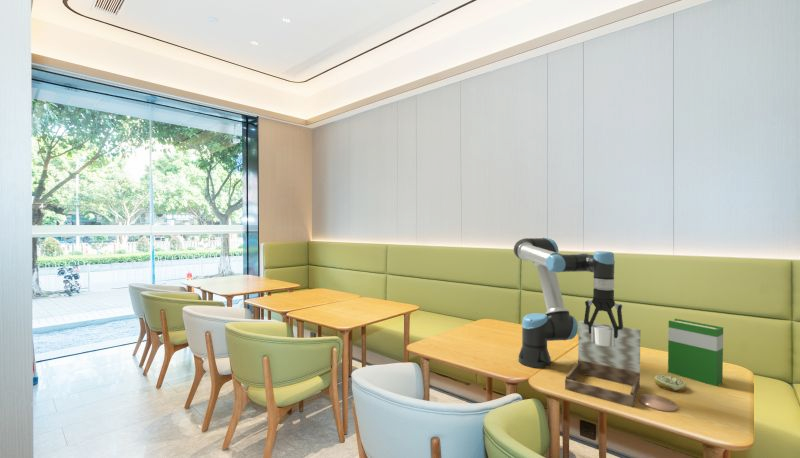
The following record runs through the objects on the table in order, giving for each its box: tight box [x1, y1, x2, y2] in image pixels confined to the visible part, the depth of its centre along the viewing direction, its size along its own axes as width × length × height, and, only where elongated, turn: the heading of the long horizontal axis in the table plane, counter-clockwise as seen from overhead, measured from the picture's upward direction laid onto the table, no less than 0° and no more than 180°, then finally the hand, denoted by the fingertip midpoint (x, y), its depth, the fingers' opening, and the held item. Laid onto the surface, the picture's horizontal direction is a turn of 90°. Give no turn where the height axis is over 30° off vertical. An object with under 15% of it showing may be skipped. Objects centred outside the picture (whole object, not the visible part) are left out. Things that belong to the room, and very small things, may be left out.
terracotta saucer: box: [638, 393, 678, 412], centre depth 141 cm, size 12×12×1 cm
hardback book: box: [667, 318, 724, 387], centre depth 165 cm, size 18×7×24 cm, turn 33°
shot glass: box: [594, 325, 612, 346], centre depth 154 cm, size 7×7×7 cm
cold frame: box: [564, 320, 641, 408], centre depth 154 cm, size 24×23×24 cm
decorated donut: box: [654, 374, 687, 392], centre depth 155 cm, size 10×11×4 cm
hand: (602, 343), depth 154 cm, fingers closed on shot glass, 7 cm apart
